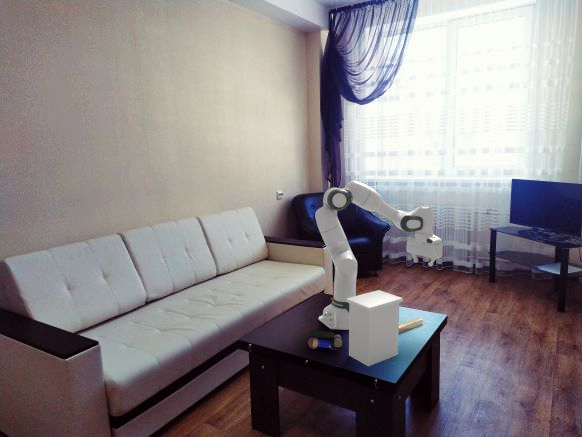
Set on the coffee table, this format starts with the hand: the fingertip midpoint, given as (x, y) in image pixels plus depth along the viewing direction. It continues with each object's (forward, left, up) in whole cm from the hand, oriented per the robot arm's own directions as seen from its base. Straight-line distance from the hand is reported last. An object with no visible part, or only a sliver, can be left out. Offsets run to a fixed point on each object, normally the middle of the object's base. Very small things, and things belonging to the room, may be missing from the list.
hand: (423, 264), depth 218 cm
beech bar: (+2, -16, -28) cm, 33 cm away
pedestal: (+13, -48, -31) cm, 59 cm away
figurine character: (-5, -61, -31) cm, 69 cm away
